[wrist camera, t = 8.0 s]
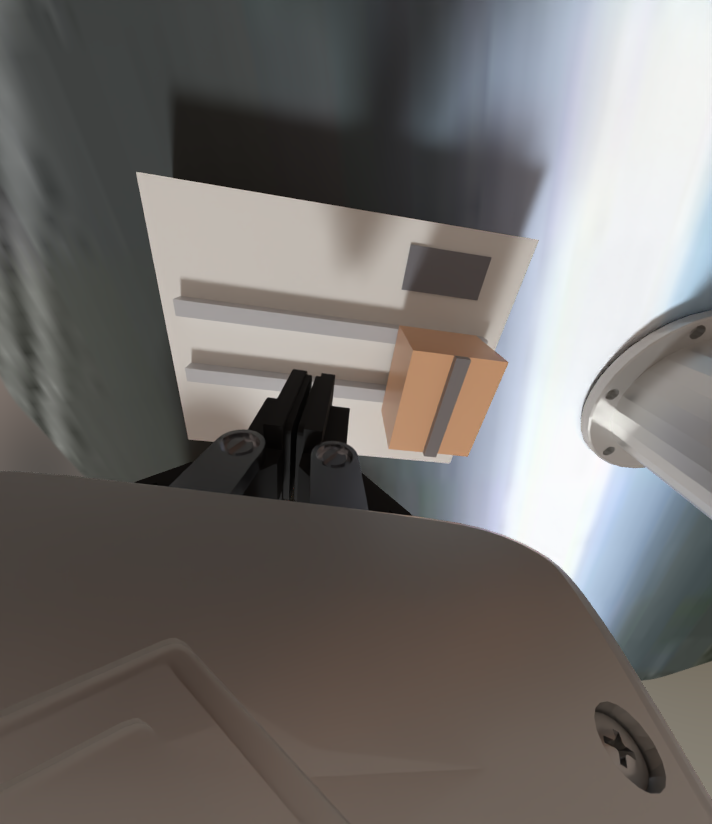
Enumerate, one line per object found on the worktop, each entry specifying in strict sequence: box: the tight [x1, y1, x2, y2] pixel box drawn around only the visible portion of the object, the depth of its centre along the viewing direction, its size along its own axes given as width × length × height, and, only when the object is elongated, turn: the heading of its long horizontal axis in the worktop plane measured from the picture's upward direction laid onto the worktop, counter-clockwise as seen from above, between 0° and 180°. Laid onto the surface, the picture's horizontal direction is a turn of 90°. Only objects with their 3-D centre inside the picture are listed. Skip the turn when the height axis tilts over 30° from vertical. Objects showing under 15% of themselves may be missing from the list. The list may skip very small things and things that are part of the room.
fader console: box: [136, 172, 539, 463], centre depth 18 cm, size 18×14×4 cm
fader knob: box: [381, 325, 508, 457], centre depth 15 cm, size 4×5×5 cm
